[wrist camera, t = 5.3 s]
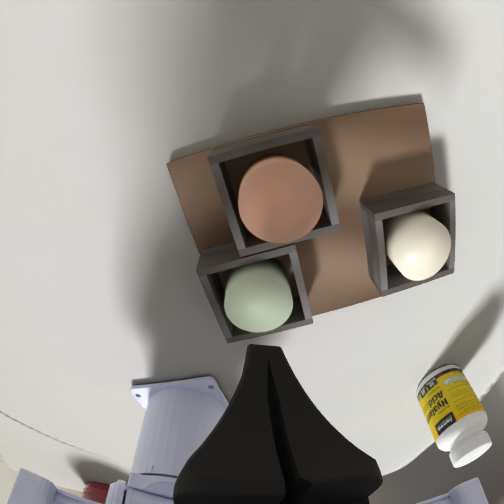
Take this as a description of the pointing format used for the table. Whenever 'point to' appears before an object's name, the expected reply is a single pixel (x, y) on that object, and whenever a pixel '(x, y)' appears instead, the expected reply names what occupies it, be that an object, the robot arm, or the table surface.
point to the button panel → (333, 212)
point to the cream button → (416, 244)
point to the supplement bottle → (454, 414)
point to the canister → (96, 492)
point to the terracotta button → (279, 199)
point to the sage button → (258, 296)
